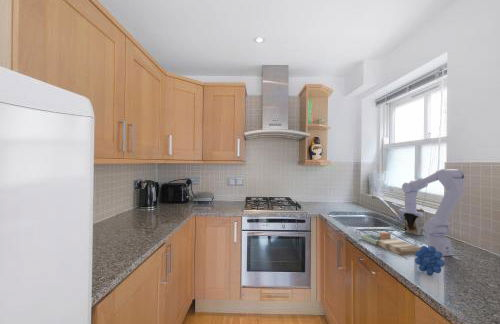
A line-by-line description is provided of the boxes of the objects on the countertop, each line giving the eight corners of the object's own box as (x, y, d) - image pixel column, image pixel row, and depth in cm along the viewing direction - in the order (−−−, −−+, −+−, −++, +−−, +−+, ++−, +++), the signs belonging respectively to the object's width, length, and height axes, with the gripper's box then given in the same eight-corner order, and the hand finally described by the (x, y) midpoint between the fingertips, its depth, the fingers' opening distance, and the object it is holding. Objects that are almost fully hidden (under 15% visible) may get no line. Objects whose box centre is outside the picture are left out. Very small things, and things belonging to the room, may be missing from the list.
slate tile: (378, 234, 153) (378, 238, 153) (371, 234, 152) (371, 238, 152) (384, 236, 148) (384, 240, 148) (377, 236, 147) (377, 240, 147)
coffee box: (404, 232, 168) (403, 208, 169) (410, 231, 171) (409, 207, 171) (418, 235, 160) (417, 210, 160) (424, 234, 163) (423, 209, 163)
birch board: (420, 253, 127) (420, 247, 127) (401, 255, 124) (401, 249, 124) (395, 243, 142) (395, 238, 142) (377, 245, 139) (377, 240, 139)
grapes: (451, 279, 98) (451, 248, 98) (440, 281, 95) (440, 250, 95) (422, 267, 108) (422, 240, 109) (411, 270, 106) (411, 241, 106)
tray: (395, 243, 143) (395, 239, 143) (375, 245, 140) (375, 240, 140) (379, 237, 155) (378, 233, 156) (360, 238, 152) (360, 234, 152)
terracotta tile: (390, 233, 145) (387, 232, 148) (382, 233, 144) (379, 232, 147) (390, 241, 145) (387, 240, 148) (383, 242, 144) (379, 240, 147)
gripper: (427, 204, 139) (428, 229, 138) (405, 201, 153) (405, 223, 152) (417, 205, 137) (418, 230, 136) (395, 201, 151) (396, 224, 150)
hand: (410, 226), depth 144 cm, fingers closed
